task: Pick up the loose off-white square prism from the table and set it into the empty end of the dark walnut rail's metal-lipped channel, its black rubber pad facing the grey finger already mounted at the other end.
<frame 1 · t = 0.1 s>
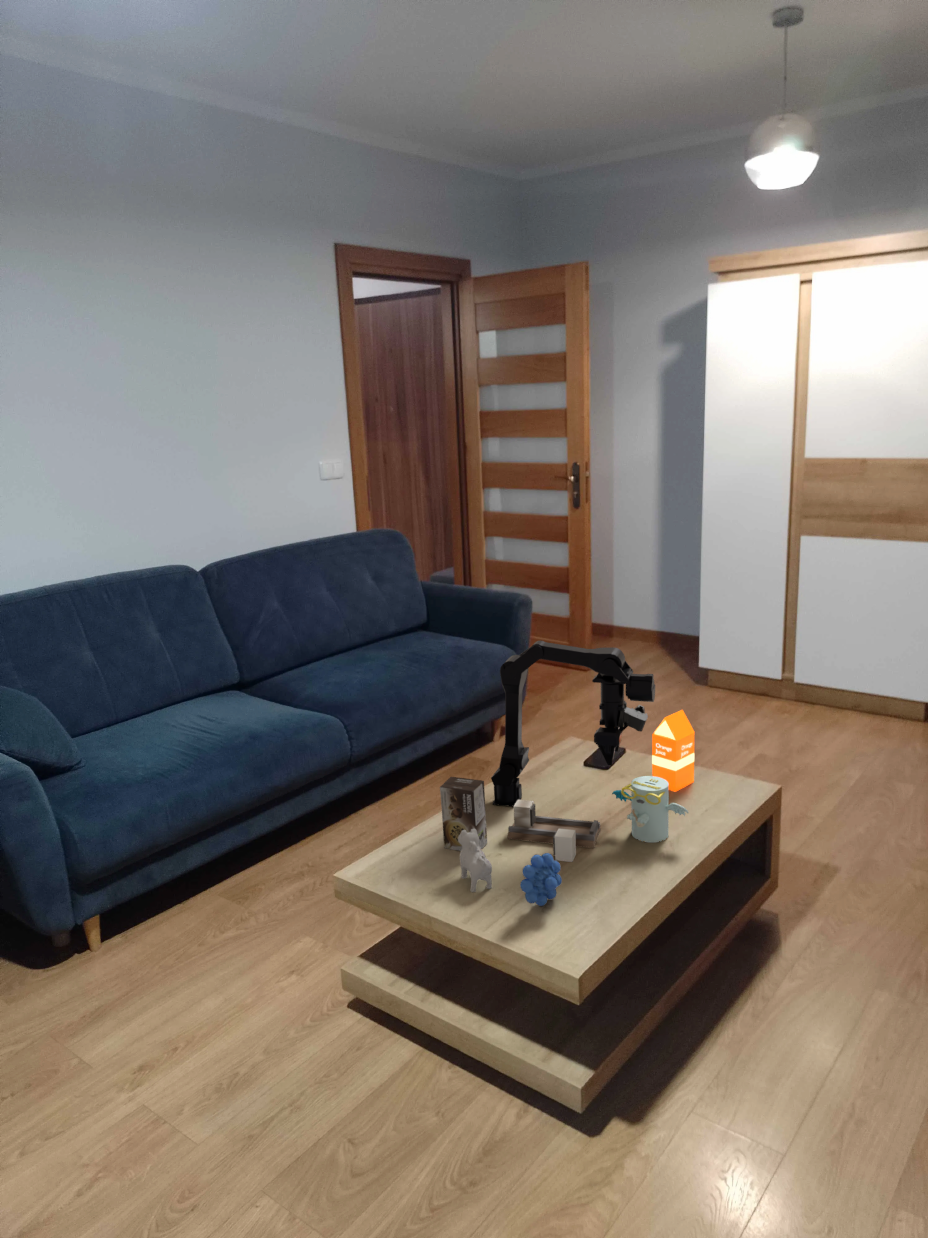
hand: (613, 758, 230), 15 cm above the table, tool pointing down, fingers open, 9 cm apart
coffee box: (465, 846, 220), on the table
grapes: (545, 907, 191), on the table
orange juice: (673, 784, 249), on the table
off-white square prism: (565, 857, 212), on the table
character sculpture: (647, 837, 220), on the table
rail: (554, 835, 223), on the table
dog figurine: (474, 880, 204), on the table
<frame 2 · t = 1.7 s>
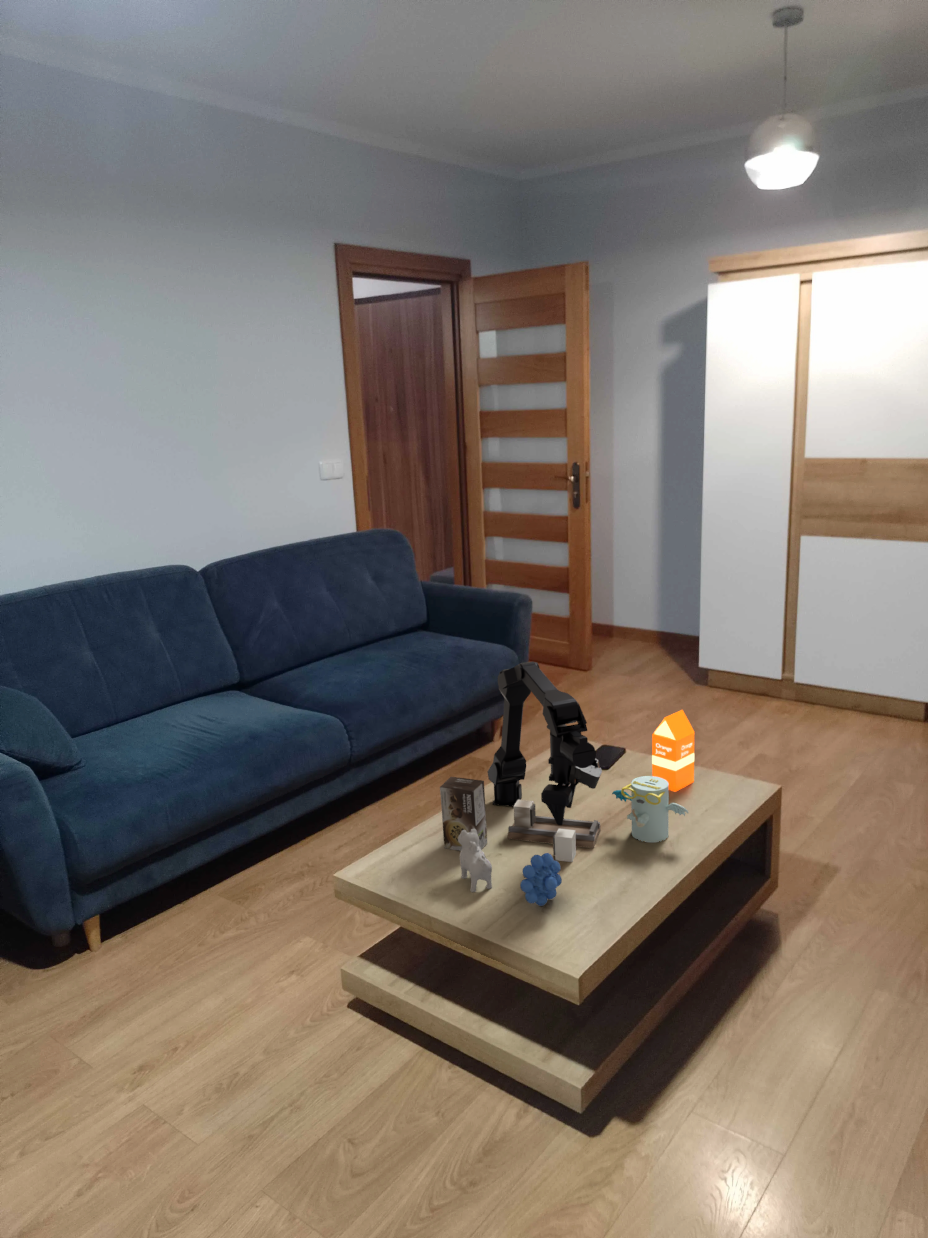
hand: (564, 816, 210), 10 cm above the table, tool pointing down, fingers open, 9 cm apart
nothing on the table moved.
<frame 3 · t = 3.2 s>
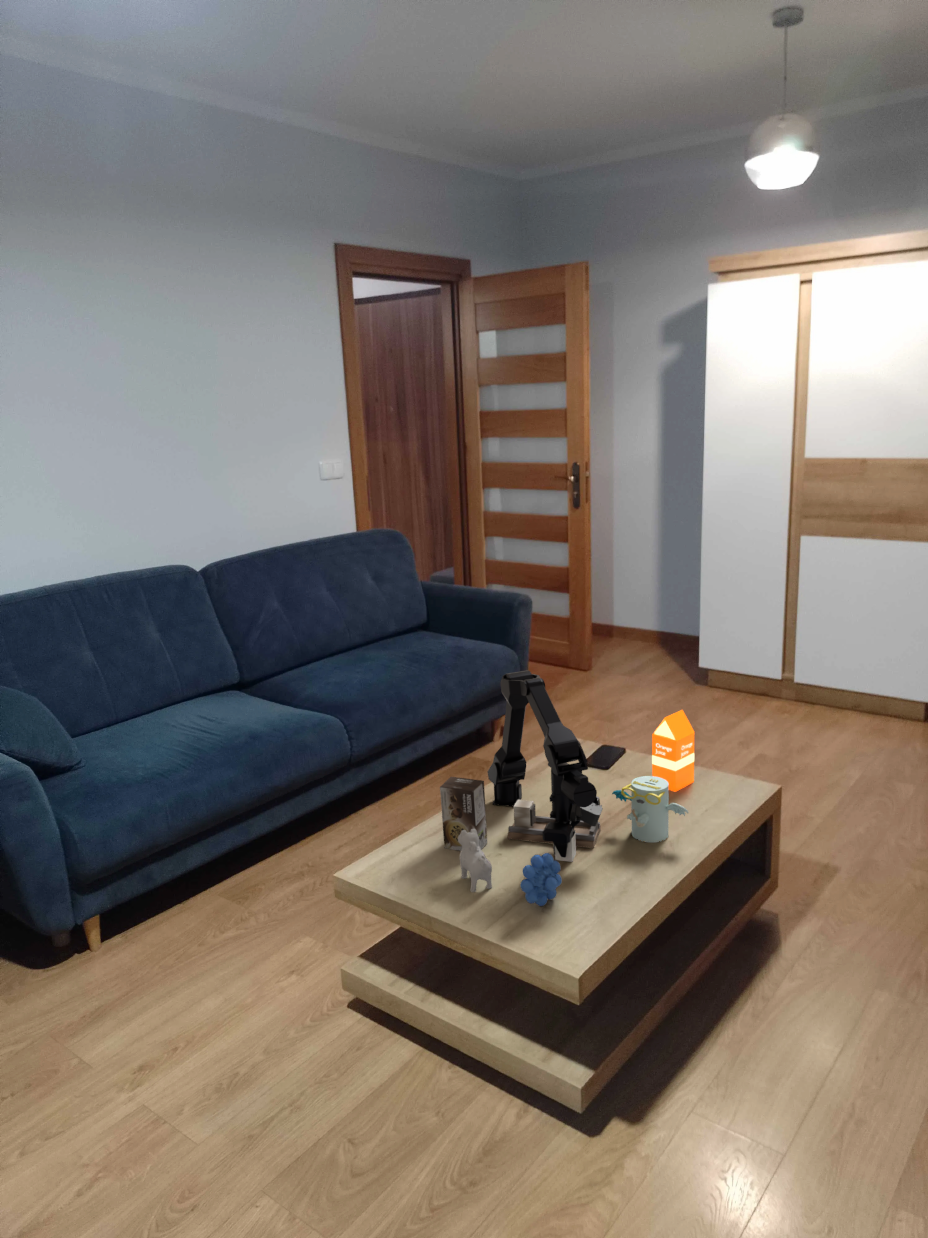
hand: (565, 852, 212), 1 cm above the table, tool pointing down, fingers closed on off-white square prism, 4 cm apart
off-white square prism: (565, 856, 212), on the table, touching gripper
everything else where it was.
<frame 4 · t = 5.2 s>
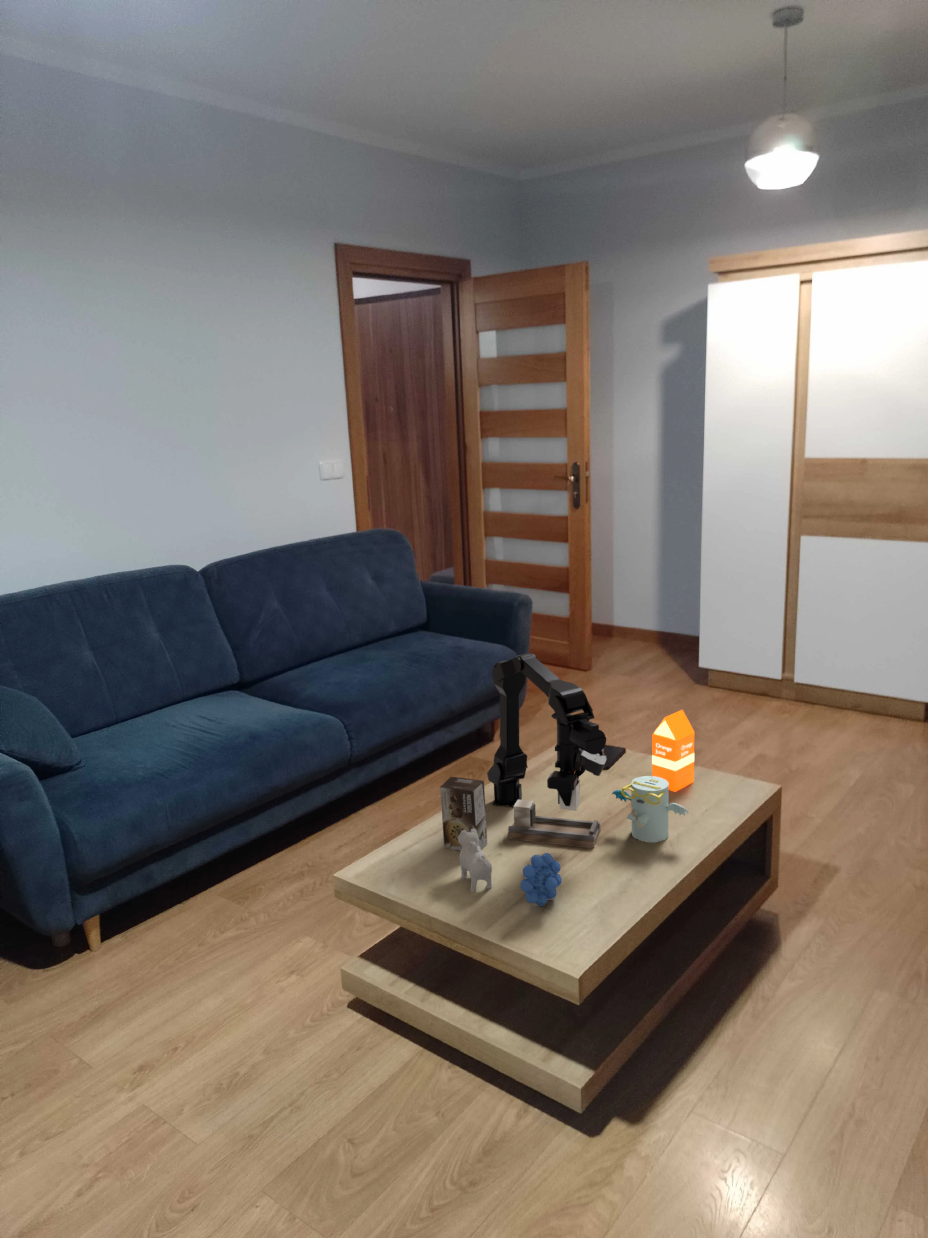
hand: (569, 802, 216), 10 cm above the table, tool pointing down, fingers closed on off-white square prism, 4 cm apart
off-white square prism: (569, 806, 216), point 9 cm above the table, touching gripper
everything else where it was.
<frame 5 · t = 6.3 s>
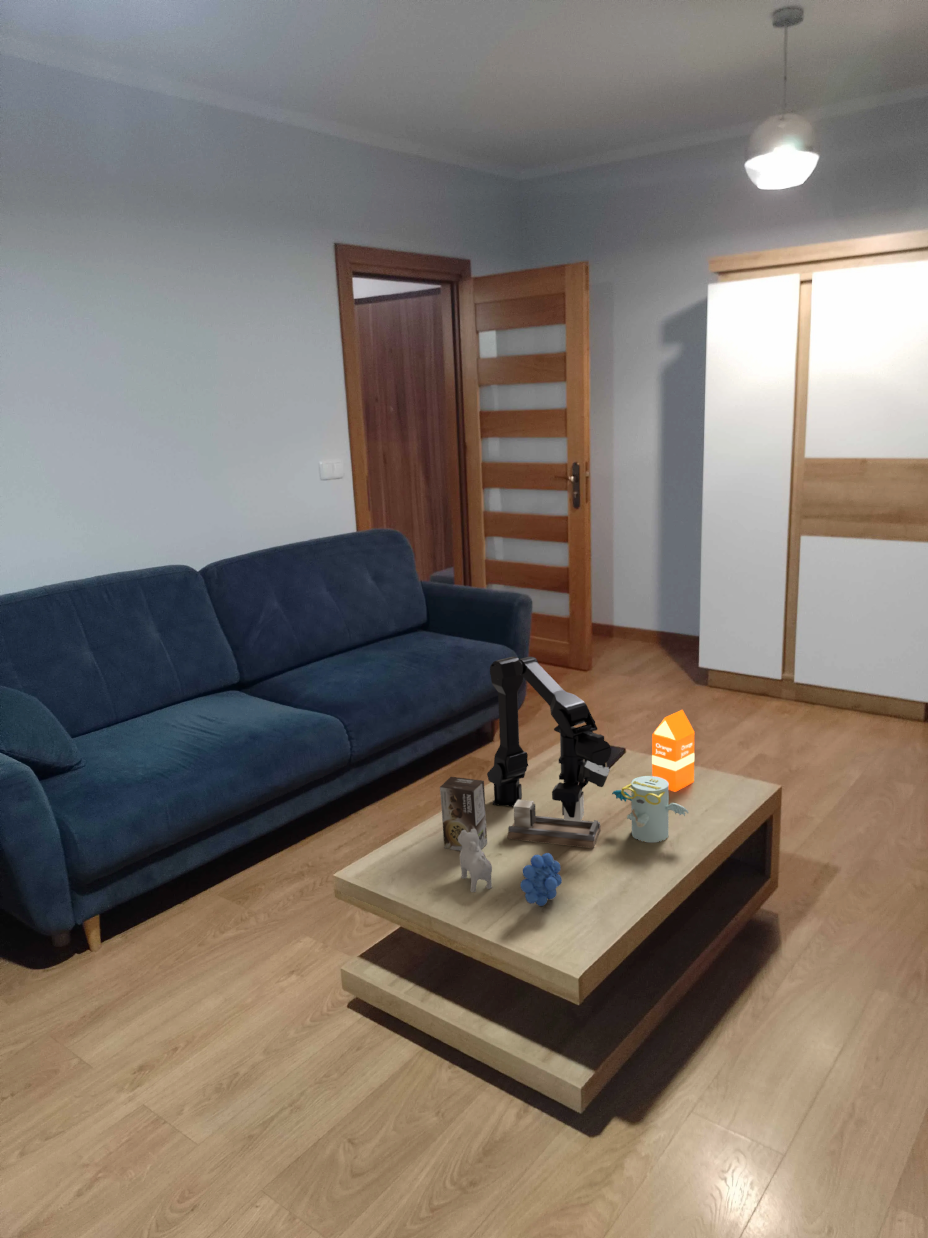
hand: (573, 813, 220), 6 cm above the table, tool pointing down, fingers closed on off-white square prism, 4 cm apart
off-white square prism: (574, 817, 220), point 5 cm above the table, touching gripper
everything else where it was.
when the fingers open (4 cm above the table, at t = 7.1 s): off-white square prism drops 1 cm, resting on rail.
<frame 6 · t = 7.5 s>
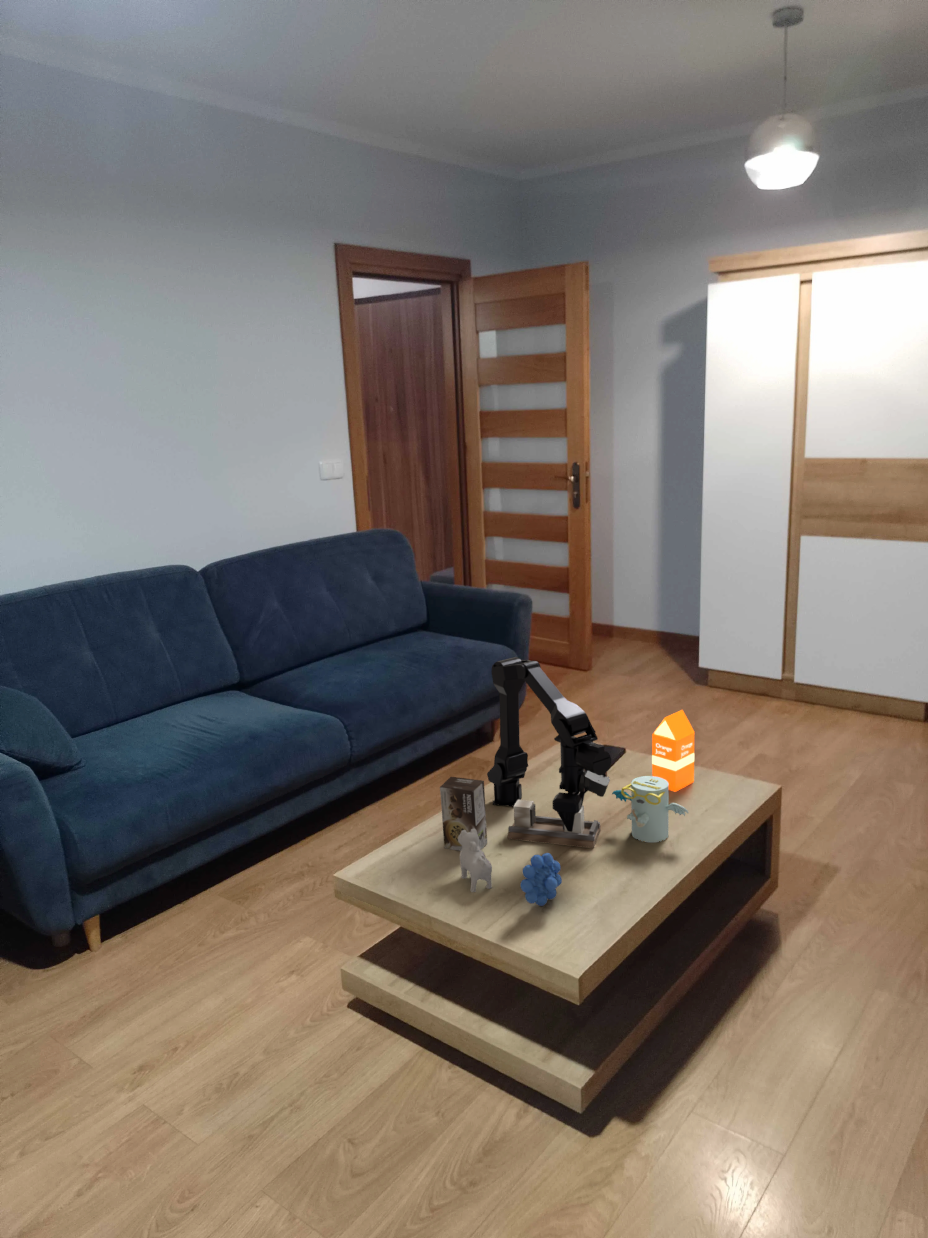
hand: (574, 822, 220), 4 cm above the table, tool pointing down, fingers open, 9 cm apart
off-white square prism: (574, 831, 221), point 1 cm above the table, touching rail
everything else where it was.
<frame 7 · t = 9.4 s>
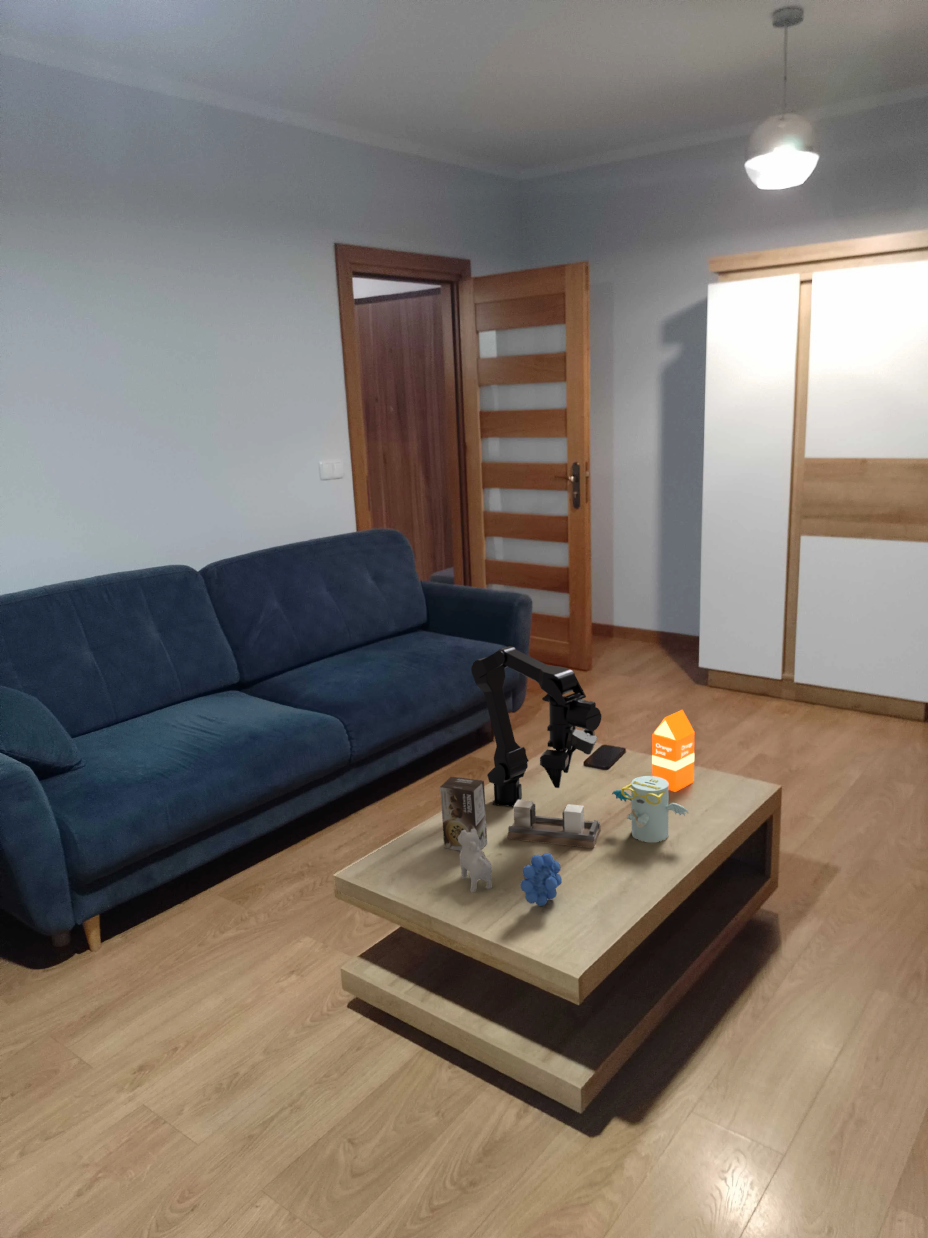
hand: (561, 780, 226), 12 cm above the table, tool pointing down, fingers open, 9 cm apart
nothing on the table moved.
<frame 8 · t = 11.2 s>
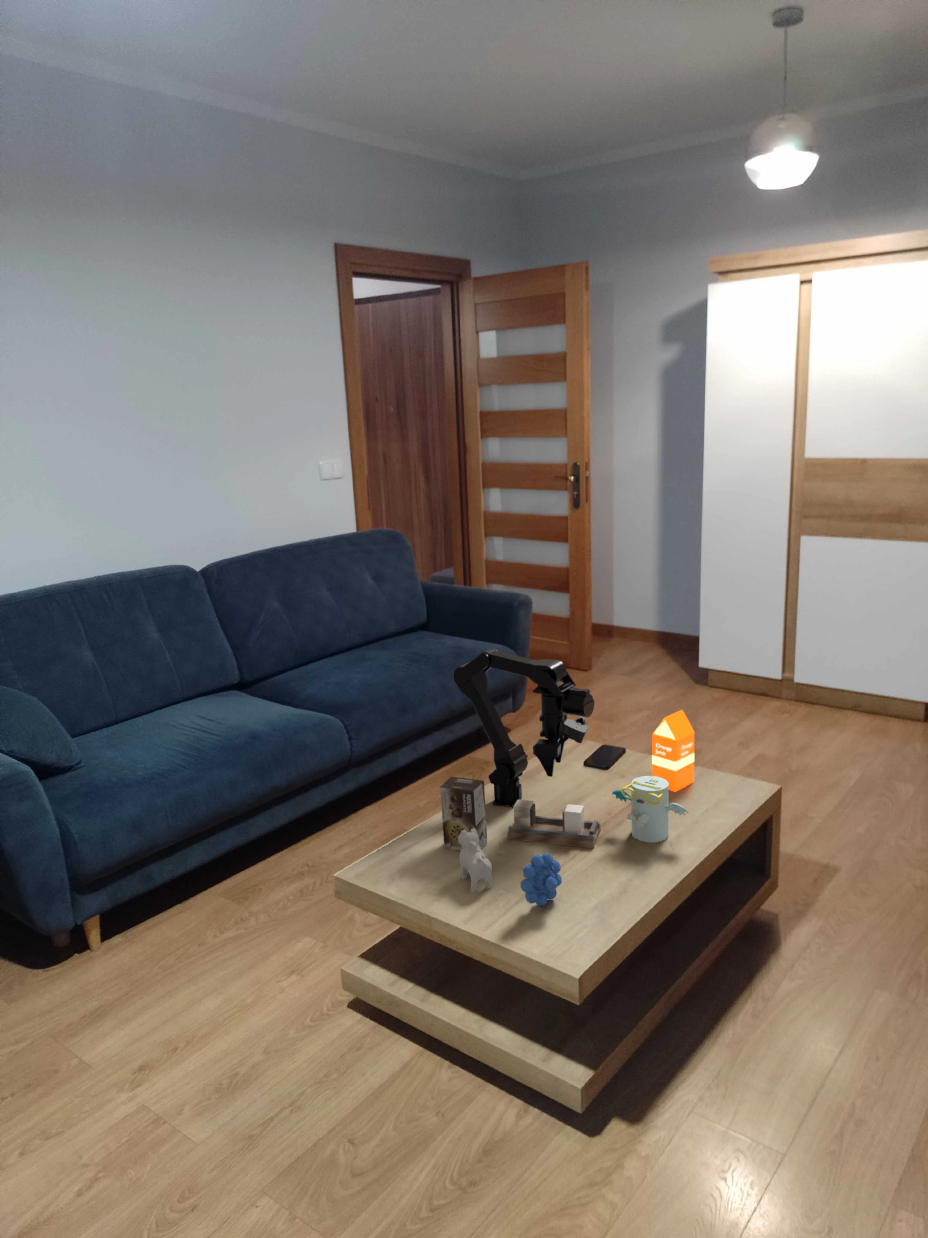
hand: (554, 769, 232), 12 cm above the table, tool pointing down, fingers open, 9 cm apart
nothing on the table moved.
at the end: off-white square prism 0.0 cm from the target spot on the rail, point 1.5 cm above the rail's base; off-white square prism tilted 0°; the gripper is holding nothing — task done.
